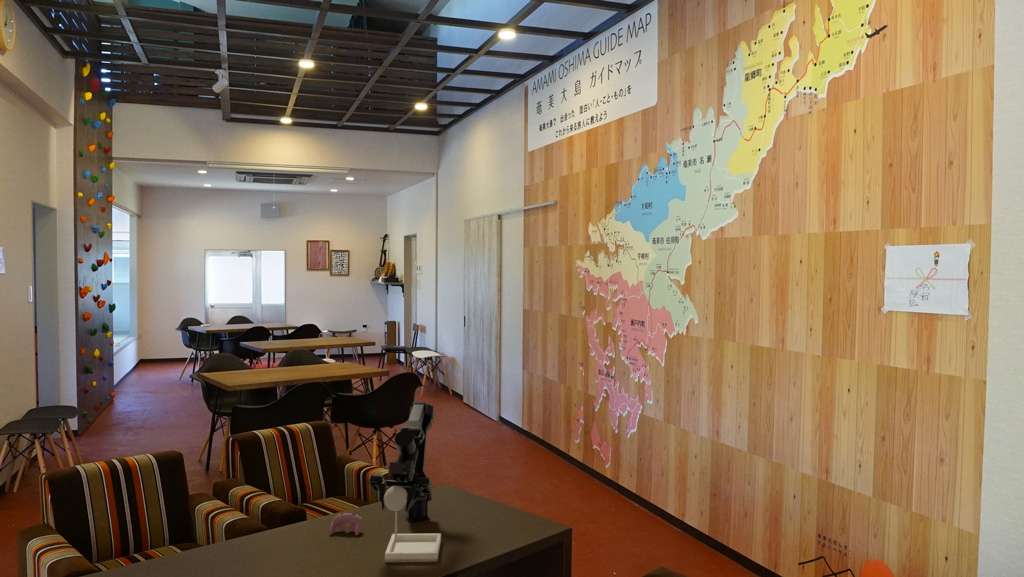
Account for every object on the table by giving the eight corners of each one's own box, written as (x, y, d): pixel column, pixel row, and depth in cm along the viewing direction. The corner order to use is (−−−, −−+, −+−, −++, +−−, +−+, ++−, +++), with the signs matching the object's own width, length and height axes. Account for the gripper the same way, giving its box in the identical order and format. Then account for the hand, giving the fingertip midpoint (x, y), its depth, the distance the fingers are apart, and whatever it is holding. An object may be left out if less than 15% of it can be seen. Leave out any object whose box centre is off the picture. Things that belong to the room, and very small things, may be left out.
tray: (392, 541, 208) (392, 533, 208) (440, 541, 208) (440, 533, 208) (384, 562, 193) (384, 553, 193) (437, 561, 193) (437, 553, 193)
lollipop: (406, 541, 195) (406, 490, 195) (382, 541, 195) (382, 490, 195) (409, 531, 202) (409, 482, 202) (385, 531, 202) (385, 482, 202)
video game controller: (361, 536, 216) (365, 514, 219) (357, 535, 212) (361, 512, 215) (332, 535, 217) (335, 513, 220) (327, 534, 212) (331, 511, 216)
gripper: (370, 448, 203) (356, 496, 193) (430, 451, 200) (419, 500, 190) (379, 466, 211) (367, 513, 201) (437, 469, 208) (427, 517, 198)
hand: (394, 511), depth 197 cm, fingers closed on lollipop, 7 cm apart
